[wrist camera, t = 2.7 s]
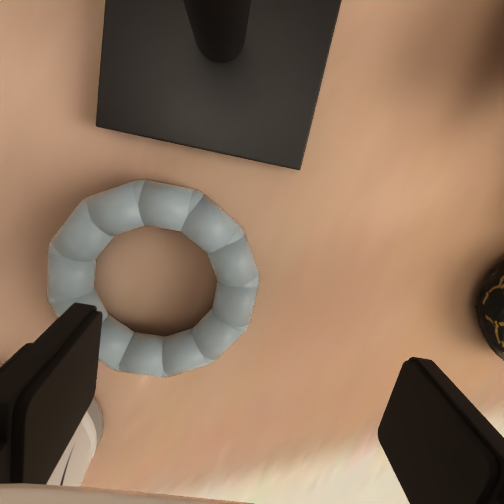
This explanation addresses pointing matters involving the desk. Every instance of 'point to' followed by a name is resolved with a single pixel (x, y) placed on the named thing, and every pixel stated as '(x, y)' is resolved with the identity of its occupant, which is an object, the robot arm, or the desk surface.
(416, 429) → the robot arm
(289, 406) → the desk surface
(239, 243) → the ring
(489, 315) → the toy snake
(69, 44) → the desk surface
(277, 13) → the stand
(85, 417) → the travel mug
